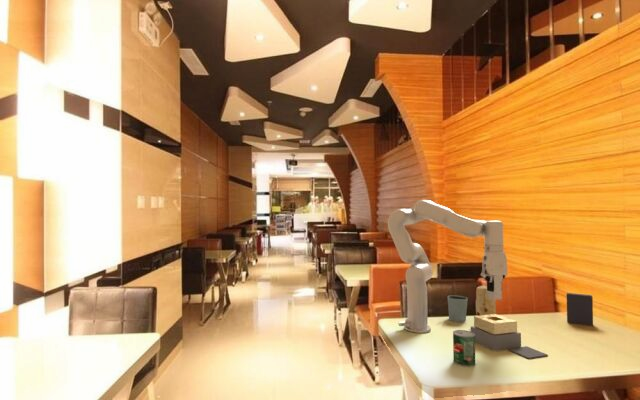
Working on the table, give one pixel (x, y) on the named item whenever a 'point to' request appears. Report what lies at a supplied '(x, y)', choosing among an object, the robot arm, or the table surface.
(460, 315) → the blue-grey cup
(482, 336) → the grey square block
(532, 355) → the pad
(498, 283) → the light grey tall block
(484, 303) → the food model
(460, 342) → the canned tomato
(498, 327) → the wooden block with hole
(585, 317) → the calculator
